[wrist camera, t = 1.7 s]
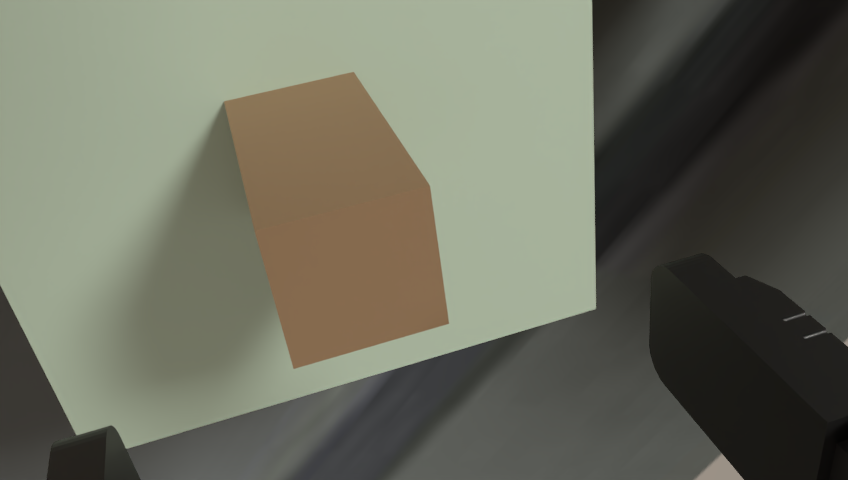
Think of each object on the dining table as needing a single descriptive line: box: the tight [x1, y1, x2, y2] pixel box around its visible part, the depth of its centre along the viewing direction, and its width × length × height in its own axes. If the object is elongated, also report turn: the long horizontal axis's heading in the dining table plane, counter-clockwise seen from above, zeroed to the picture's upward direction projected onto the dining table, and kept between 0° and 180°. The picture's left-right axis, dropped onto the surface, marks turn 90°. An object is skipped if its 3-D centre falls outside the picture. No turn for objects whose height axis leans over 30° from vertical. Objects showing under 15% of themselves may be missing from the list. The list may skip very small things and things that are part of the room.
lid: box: [0, 0, 596, 449], centre depth 17 cm, size 15×15×7 cm
